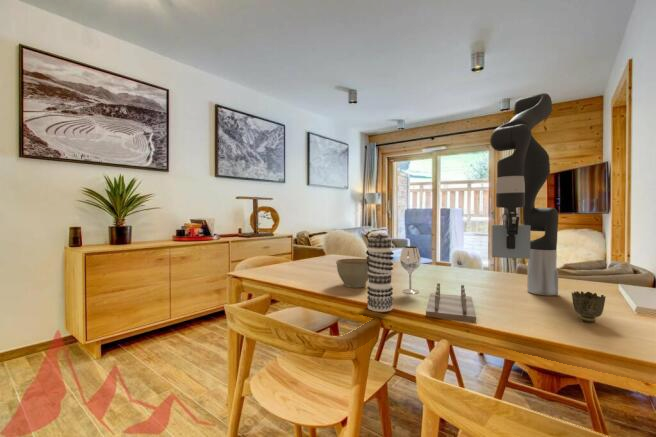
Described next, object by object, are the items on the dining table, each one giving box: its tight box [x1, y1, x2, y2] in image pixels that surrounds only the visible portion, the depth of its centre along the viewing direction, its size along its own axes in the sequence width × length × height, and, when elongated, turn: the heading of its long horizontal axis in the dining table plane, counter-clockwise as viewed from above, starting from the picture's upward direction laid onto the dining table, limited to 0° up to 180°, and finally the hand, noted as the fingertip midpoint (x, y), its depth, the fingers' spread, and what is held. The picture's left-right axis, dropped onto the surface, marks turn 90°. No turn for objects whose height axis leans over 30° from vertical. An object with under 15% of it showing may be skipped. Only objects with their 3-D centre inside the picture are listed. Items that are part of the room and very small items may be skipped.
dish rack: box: [425, 282, 477, 323], centre depth 100 cm, size 22×14×6 cm, turn 158°
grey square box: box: [490, 224, 531, 260], centre depth 92 cm, size 2×10×10 cm, turn 68°
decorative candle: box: [365, 232, 395, 313], centre depth 101 cm, size 9×9×25 cm
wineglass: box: [399, 245, 422, 295], centre depth 121 cm, size 8×8×18 cm
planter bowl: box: [335, 258, 369, 289], centre depth 132 cm, size 16×16×11 cm
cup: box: [571, 290, 607, 324], centre depth 87 cm, size 8×7×8 cm
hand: (509, 247), depth 92 cm, fingers closed on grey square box, 2 cm apart
